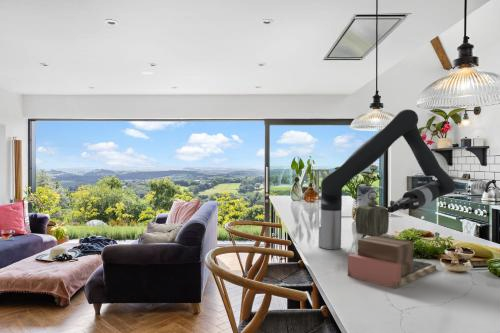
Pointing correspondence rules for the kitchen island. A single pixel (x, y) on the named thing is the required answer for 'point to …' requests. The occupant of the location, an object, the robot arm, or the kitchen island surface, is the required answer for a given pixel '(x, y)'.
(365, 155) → the robot arm
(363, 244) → the brown cardboard box
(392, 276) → the roller track
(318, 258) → the kitchen island surface
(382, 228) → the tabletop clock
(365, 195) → the juice carton
